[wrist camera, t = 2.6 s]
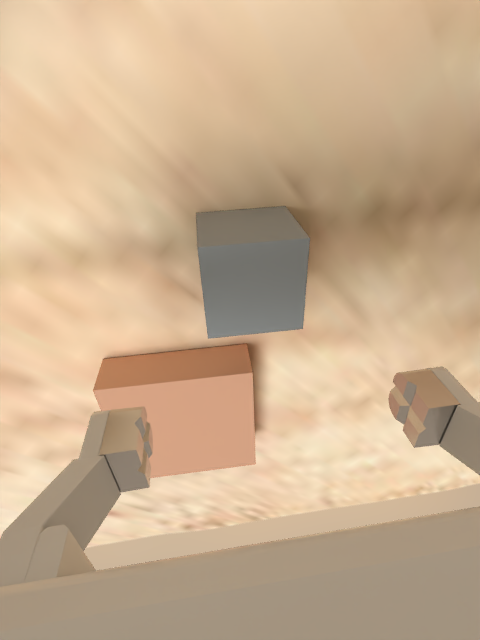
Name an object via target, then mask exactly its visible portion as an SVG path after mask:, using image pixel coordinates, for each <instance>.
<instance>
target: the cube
mask: <svg viewBox="0 0 480 640" xmlns="http://www.w3.org/2000/svg"><path fill="white" fill-rule="evenodd" d="M196 223H197V247H198V256H199V264H200V273H201V282H202V290H203V299H204V307H205V316H206V325H207V333H208V339H209V338H219V337H229V336H238V335H248V334H258V333H268V332H277V331H287V330H297V329H303V321H304V308H305V295H306V282H307V269H308V256H309V243H310V238H309V236H308V235H307V234H306V232H305V231H304V230H303V228H302V227H301V226H300V225H299V223H298V222H297V221H296V219H295V218H294V217H293V215H292V214H291V213H290V212H289V210H288V209H287V208H286V206H280V207H267V208H254V209H240V210H227V211H214V212H201V213H196Z"/></svg>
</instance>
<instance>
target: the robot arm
mask: <svg viewBox="0 0 480 640" xmlns="http://www.w3.org/2000/svg"><path fill="white" fill-rule="evenodd" d="M393 382H394V384H395V385H396V386H395V387H394V388H393V389H392V390H391V391H390V394H389V406H390V409H391V412H392V414H393V415H394V417H395V419H396V420H398V421H399V422H401V423H403V424H404V427H403V431H404V433H405V434H406V436H407V438H408V439H409V441H410V442H411V444H412V445H413V447H414V448H415V447H423V446H431V445H440V447H442V448H443V449H445V450H446V451H447V452H449V453H450V454H451V455H453V456H454V457H455V458H457V459H458V460H460V461H461V462H462V463H464V464H465V465H466V466H468V467H469V468H471V469H472V470H473V471H475V472H476V473H477V474H479V475H480V402H477V401H476V400H475V399H474V398H473V397H472V396H471V395H470V394H469V392H468V391H467V390H466V389H465V388H464V387H463V386H462V385H461V384H460V383H459V382H458V381H457V380H456V379H455V378H454V376H453V375H452V374H451V373H450V372H449V371H448V370H447V369H446V368H444V367H435V368H428V369H420V370H413V371H406V372H399V373H397V374H396V375H395V376H394V379H393ZM152 453H153V435H152V429H151V425H150V423H148V422H147V412H146V409H145V407H144V406H142V407H132V408H123V409H113V410H107V411H97V412H94V413H93V414H92V416H91V418H90V421H89V425H88V428H87V432H86V435H85V439H84V442H83V446H82V449H81V453H80V456H79V459H74V460H73V461H72V462H71V463H70V464H69V465H68V466H67V467H66V468H65V469H64V470H63V471H62V472H61V473H60V474H59V475H58V476H57V477H56V478H55V479H54V480H53V481H52V482H51V483H50V484H49V486H48V487H47V488H46V489H45V490H44V491H43V492H42V493H41V494H40V495H39V496H38V497H37V498H36V499H35V500H34V501H33V502H32V503H31V504H30V505H29V506H28V507H27V508H26V509H25V510H24V511H23V512H22V513H21V514H20V515H19V517H18V518H17V519H16V520H15V521H14V522H13V523H12V524H11V525H10V526H9V527H8V528H7V529H6V530H5V531H4V532H3V534H2V537H1V539H0V640H480V506H479V507H473V508H467V509H461V510H455V511H449V512H443V513H438V514H431V515H425V516H420V517H413V518H407V519H401V520H396V521H389V522H383V523H377V524H371V525H365V526H359V527H354V528H347V529H341V530H336V531H329V532H324V533H318V534H312V535H306V536H300V537H294V538H288V539H282V540H276V541H271V542H264V543H258V544H252V545H246V546H240V547H234V548H228V549H222V550H217V551H211V552H205V553H199V554H193V555H187V556H181V557H175V558H169V559H163V560H157V561H151V562H145V563H139V564H134V565H127V566H121V567H115V568H109V569H104V570H97V571H96V570H95V569H94V567H93V565H92V564H91V562H90V561H89V559H88V558H87V556H86V555H85V553H84V552H83V551H84V550H85V548H86V547H87V545H88V543H89V542H90V540H91V539H92V537H93V536H94V534H95V533H96V531H97V530H98V528H99V527H100V525H101V524H102V522H103V521H104V519H105V518H106V516H107V515H108V513H109V511H110V510H111V508H112V507H113V505H114V504H115V502H116V501H117V499H118V498H119V496H120V495H121V493H120V492H126V491H132V490H137V489H143V488H148V487H149V486H150V475H151V465H150V461H149V458H150V456H151V455H152Z"/></svg>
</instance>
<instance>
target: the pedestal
mask: <svg viewBox="0 0 480 640" xmlns="http://www.w3.org/2000/svg"><path fill="white" fill-rule="evenodd" d="M93 392H94V394H95V397H96V399H97V402H98V404H99V407H100V409H101V411H107V410H113V409H123V408H132V407H142V406H144V407H145V409H146V412H147V422H148V423H150V425H151V429H152V435H153V453H152V455H151V456H150V458H149V461H150V465H151V475H150V478H154V477H162V476H169V475H177V474H185V473H192V472H200V471H208V470H215V469H223V468H230V467H238V466H246V465H253V464H256V460H255V428H254V397H253V371H252V367H251V362H250V357H249V352H248V348H247V344H239V345H230V346H220V347H211V348H202V349H192V350H183V351H173V352H164V353H155V354H145V355H136V356H126V357H117V358H108V359H103V361H102V364H101V367H100V370H99V373H98V377H97V380H96V383H95V386H94V389H93Z"/></svg>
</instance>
